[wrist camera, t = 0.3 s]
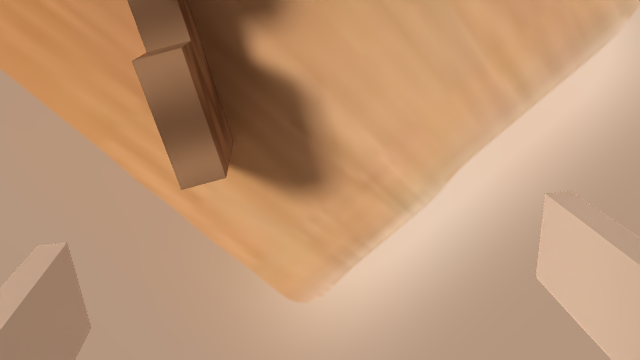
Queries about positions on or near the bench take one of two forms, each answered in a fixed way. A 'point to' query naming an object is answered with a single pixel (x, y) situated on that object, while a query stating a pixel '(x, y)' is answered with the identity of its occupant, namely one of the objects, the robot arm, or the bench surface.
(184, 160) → the slotted beam
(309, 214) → the bench surface
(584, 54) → the bench surface
